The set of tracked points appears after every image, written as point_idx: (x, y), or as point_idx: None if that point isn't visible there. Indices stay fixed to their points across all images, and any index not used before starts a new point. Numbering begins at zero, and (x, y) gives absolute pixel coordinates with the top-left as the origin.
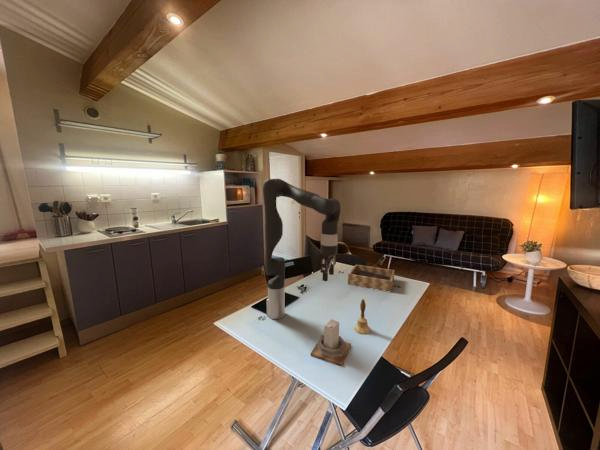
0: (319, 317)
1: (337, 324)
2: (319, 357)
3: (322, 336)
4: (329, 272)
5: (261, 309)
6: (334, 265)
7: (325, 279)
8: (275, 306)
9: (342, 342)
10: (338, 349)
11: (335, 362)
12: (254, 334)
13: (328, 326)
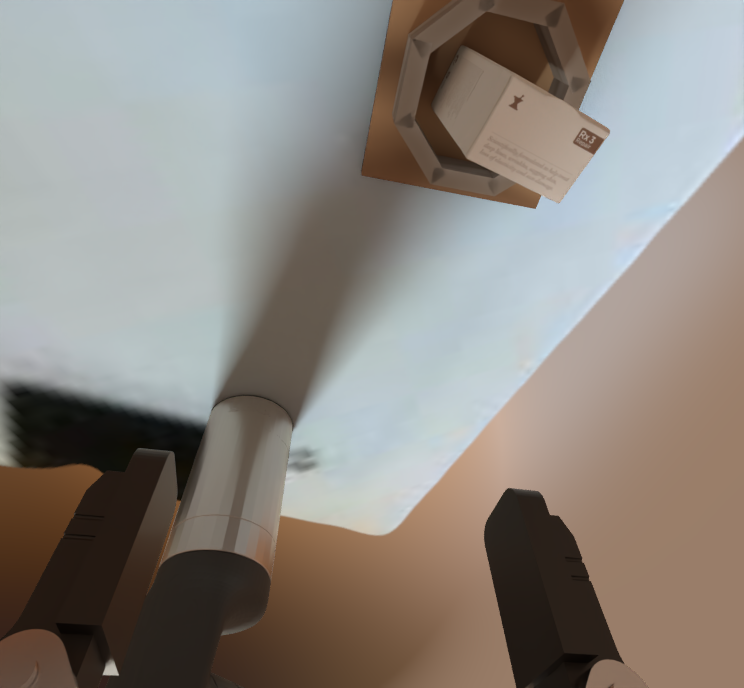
0: (157, 225)
1: (543, 90)
2: None
3: (438, 175)
4: (163, 531)
5: None
6: (15, 685)
7: (569, 538)
8: (281, 473)
9: (481, 14)
10: (565, 39)
11: (600, 47)
12: (421, 445)
13: (581, 168)
